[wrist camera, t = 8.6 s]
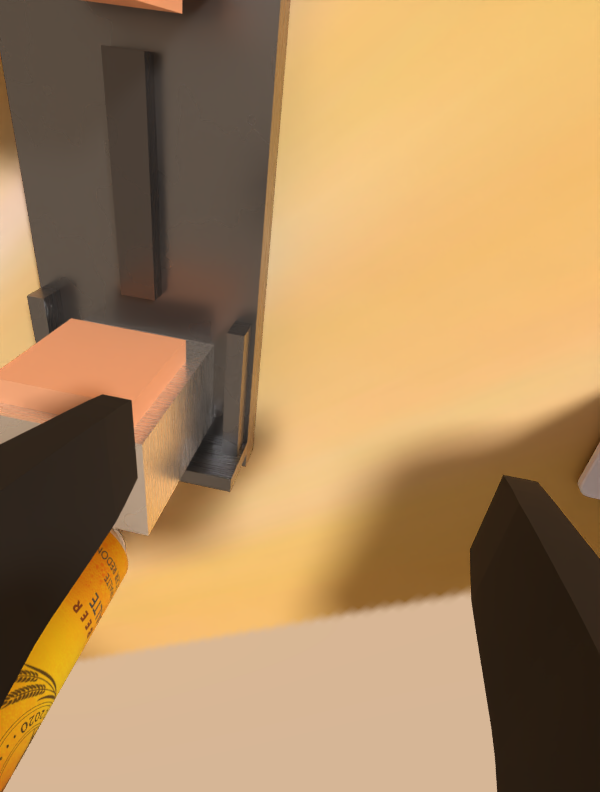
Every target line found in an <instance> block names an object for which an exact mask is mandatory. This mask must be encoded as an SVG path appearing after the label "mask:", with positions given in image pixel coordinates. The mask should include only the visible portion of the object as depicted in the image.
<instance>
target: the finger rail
mask: <svg viewBox="0 0 600 792" xmlns="http://www.w3.org/2000/svg"><path fill="white" fill-rule="evenodd" d="M289 10H290V0H0V53H1V59H2V65H3V71H4V76H5V82H6V88H7V94H8V100H9V105H10V111H11V117H12V123H13V129H14V134H15V140H16V146H17V152H18V158H19V164H20V169H21V175H22V181H23V187H24V193H25V198H26V204H27V210H28V216H29V222H30V227H31V233H32V239H33V245H34V251H35V256H36V262H37V268H38V274H39V280H40V286H41V288H40V289H38V290H36V291H35V292H33V293H31V294H29V295H28V296H27V298H28V304H29V309H30V314H31V320H32V325H33V330H34V335H35V341H36V343H37V342H39V341H40V340H42V339H43V338H44V337H46V336H47V335H49V334H50V333H51V332H53V331H54V330H56V329H57V328H58V327H60V326H61V325H63V324H64V323H65V322H67V321H68V320H70V319H71V318H72V319H77V320H88V321H93V322H98V323H104V324H109V325H114V326H119V327H125V328H130V329H135V330H141V331H146V332H151V333H156V334H162V335H167V336H172V337H178V338H183V339H188V340H194V341H199V342H204V343H209V344H214V376H213V414H212V424H211V426H210V427H209V429H208V431H207V433H206V434H205V436H204V438H203V440H202V442H201V443H200V445H199V447H198V449H197V450H196V452H195V454H194V456H193V458H192V459H191V461H190V463H189V465H188V466H187V468H186V470H185V472H184V474H183V475H182V477H181V479H180V481H182V482H186V483H191V484H196V485H200V486H205V487H210V488H214V489H219V490H224V491H228V492H230V491H231V489H232V487H233V484H234V482H235V480H236V477H237V475H238V473H239V470H240V468H241V466H245V467H246V464H247V462H248V459H249V457H250V455H251V452H252V450H253V440H254V428H255V417H256V405H257V393H258V381H259V369H260V357H261V345H262V333H263V321H264V309H265V297H266V285H267V273H268V261H269V249H270V237H271V225H272V213H273V201H274V189H275V177H276V165H277V153H278V141H279V129H280V117H281V105H282V93H283V81H284V70H285V58H286V46H287V34H288V22H289Z"/></svg>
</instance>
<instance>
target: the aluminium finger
mask: <svg viewBox="0 0 600 792" xmlns="http://www.w3.org/2000/svg"><path fill="white" fill-rule="evenodd" d="M213 376H214V344H209V343H204V342H199V341H194V340H188V339H183V338H178V337H172V336H167V335H162V334H156V333H151V332H146V331H141V330H135V329H130V328H125V327H119V326H114V325H109V324H104V323H98V322H93V321H88V320H77V319H72V318H71V319H70V320H68V321H67V322H65V323H64V324H63V325H61V326H60V327H58V328H57V329H56V330H54V331H53V332H51V333H50V334H49V335H47V336H46V337H44V338H43V339H42V340H40V341H39V342H37V343H36V344H35V345H33V346H32V347H30V348H29V349H28V350H26V351H25V352H23V353H22V354H21V355H19V356H18V357H16V358H15V359H14V360H12V361H11V362H9V363H8V364H7V365H5V366H4V367H3V368H1V369H0V444H2V443H4V442H6V441H8V440H10V439H12V438H14V437H16V436H18V435H20V434H22V433H24V432H26V431H28V430H30V429H32V428H34V427H36V426H38V425H40V424H42V423H44V422H46V421H48V420H50V419H52V418H54V417H56V416H58V415H60V414H62V413H64V412H66V411H68V410H70V409H72V408H74V407H76V406H78V405H80V404H82V403H84V402H86V401H88V400H90V399H93V398H95V397H97V396H100V395H102V394H104V395H109V396H114V397H119V398H124V399H129V400H132V411H133V423H134V436H135V449H136V461H137V474H138V479H137V481H136V483H135V485H134V487H133V489H132V491H131V493H130V496H129V498H128V500H127V502H126V504H125V506H124V508H123V510H122V512H121V513H120V515H119V517H118V519H117V521H116V523H115V524H114V526H113V527H112V528H116V529H120V530H125V531H129V532H134V533H138V534H143V535H147V536H149V534H150V532H151V530H152V529H153V527H154V525H155V523H156V522H157V520H158V518H159V516H160V514H161V513H162V511H163V509H164V507H165V506H166V504H167V502H168V500H169V498H170V497H171V495H172V493H173V491H174V490H175V488H176V486H177V484H178V482H179V481H180V479H181V477H182V475H183V474H184V472H185V470H186V468H187V466H188V465H189V463H190V461H191V459H192V458H193V456H194V454H195V452H196V450H197V449H198V447H199V445H200V443H201V442H202V440H203V438H204V436H205V434H206V433H207V431H208V429H209V427H210V426H211V424H212V414H213Z"/></svg>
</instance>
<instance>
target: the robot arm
mask: <svg viewBox="0 0 600 792" xmlns="http://www.w3.org/2000/svg"><path fill="white" fill-rule="evenodd" d="M137 479H138V474H137V461H136V449H135V436H134V423H133V411H132V400H129V399H124V398H119V397H114V396H109V395H104V394H102V395H100V396H97V397H95V398H93V399H90V400H88V401H86V402H84V403H82V404H80V405H78V406H76V407H74V408H72V409H70V410H68V411H66V412H64V413H62V414H60V415H58V416H56V417H54V418H52V419H50V420H48V421H46V422H44V423H42V424H40V425H38V426H36V427H34V428H32V429H30V430H28V431H26V432H24V433H22V434H20V435H18V436H16V437H14V438H12V439H10V440H8V441H6V442H4V443H2V444H0V709H1V707H2V705H3V703H4V701H5V699H6V697H7V695H8V693H9V691H10V690H11V688H12V686H13V684H14V682H15V680H16V679H17V677H18V675H19V673H20V671H21V669H22V668H23V666H24V664H25V662H26V660H27V658H28V657H29V655H30V653H31V651H32V649H33V647H34V646H35V644H36V642H37V641H38V639H39V637H40V636H41V634H42V633H43V631H44V629H45V628H46V626H47V625H48V623H49V621H50V620H51V618H52V617H53V615H54V614H55V612H56V611H57V609H58V608H59V606H60V605H61V603H62V602H63V600H64V599H65V598H66V596H67V595H68V593H69V592H70V590H71V589H72V587H73V586H74V584H75V583H76V581H77V580H78V578H79V577H80V575H81V574H82V572H83V571H84V569H85V568H86V567H87V565H88V564H89V562H90V561H91V559H92V558H93V556H94V555H95V553H96V552H97V550H98V549H99V547H100V546H101V544H102V543H103V541H104V540H105V538H106V537H107V535H108V534H109V532H110V531H111V529H112V527H113V526H114V524H115V523H116V521H117V519H118V517H119V515H120V513H121V512H122V510H123V508H124V506H125V504H126V502H127V500H128V498H129V496H130V493H131V491H132V489H133V487H134V485H135V483H136V481H137ZM578 487H579V489H580V491H581V493H582V494H583V495H585V496H587V497H591V498H596V499H600V442H599V444H598V446H597V448H596V450H595V451H594V453H593V455H592V457H591V459H590V460H589V462H588V464H587V466H586V467H585V469H584V471H583V473H582V475H581V476H580V478H579V480H578ZM470 574H471V600H472V607H473V615H474V621H475V628H476V634H477V641H478V646H479V653H480V660H481V666H482V672H483V678H484V684H485V691H486V696H487V703H488V709H489V715H490V722H491V728H492V737H493V744H494V753H495V764H496V780H497V792H600V559H599V557H598V556H597V555H596V554H595V552H594V551H593V550H592V549H591V548H590V546H589V545H588V544H587V543H586V541H585V540H584V539H583V538H582V536H581V535H580V534H579V533H578V531H577V530H576V529H575V528H574V526H573V525H572V524H571V523H570V521H569V520H568V519H567V518H566V516H565V515H564V514H563V513H562V511H561V510H560V509H559V507H558V506H557V505H556V504H555V502H554V501H553V500H552V499H551V498H550V496H549V495H548V494H547V493H546V491H545V490H544V489H543V488H542V487H541V486H540V484H539V483H538V482H535V481H530V480H526V479H521V478H516V477H511V476H506V475H503V477H502V479H501V482H500V484H499V486H498V488H497V491H496V493H495V495H494V497H493V500H492V502H491V504H490V506H489V508H488V511H487V513H486V515H485V517H484V520H483V522H482V524H481V526H480V529H479V531H478V533H477V535H476V537H475V540H474V542H473V544H472V546H471V549H470Z"/></svg>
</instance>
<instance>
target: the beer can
mask: <svg viewBox="0 0 600 792" xmlns="http://www.w3.org/2000/svg"><path fill="white" fill-rule="evenodd" d="M127 569H128V559H127V555H126V547H125V542H124V540H123V537H122V535H121V534H120V532H119V531H118V529H116V528H112V529H111V531H110V532H109V534H108V535H107V537H106V538H105V540H104V541H103V543H102V544H101V546H100V547H99V549H98V550H97V552H96V553H95V555H94V556H93V558H92V559H91V561H90V562H89V564H88V565H87V567H86V568H85V569H84V571H83V572H82V574H81V575H80V577H79V578H78V580H77V581H76V583H75V584H74V586H73V587H72V589H71V590H70V592H69V593H68V595H67V596H66V598H65V599H64V600H63V602H62V603H61V605H60V606H59V608H58V609H57V611H56V612H55V614H54V615H53V617H52V618H51V620H50V621H49V623H48V625H47V626H46V628H45V629H44V631H43V633H42V634H41V636H40V637H39V639H38V641H37V642H36V644H35V646H34V647H33V649H32V651H31V653H30V655H29V657H28V658H27V660H26V662H25V664H24V666H23V668H22V669H21V671H20V673H19V675H18V677H17V679H16V680H15V682H14V684H13V686H12V688H11V690H10V691H9V693H8V695H7V697H6V699H5V701H4V703H3V705H2V707H1V709H0V792H3V790H4V789H5V787H6V785H7V783H8V781H9V779H10V778H11V776H12V774H13V772H14V771H15V769H16V767H17V766H18V763H19V762H20V760H21V758H22V757H23V755H24V753H25V751H26V749H27V748H28V746H29V744H30V743H31V741H32V739H33V737H34V735H35V734H36V732H37V730H38V728H39V726H40V725H41V723H42V721H43V719H44V718H45V716H46V714H47V712H48V711H49V709H50V707H51V705H52V704H53V702H54V700H55V698H56V696H57V694H58V693H59V691H60V689H61V688H62V686H63V684H64V682H65V681H66V679H67V677H68V675H69V674H70V672H71V670H72V668H73V666H74V665H75V663H76V661H77V659H78V658H79V656H80V654H81V652H82V650H83V649H84V647H85V645H86V643H87V642H88V640H89V638H90V636H91V635H92V633H93V631H94V629H95V627H96V626H97V624H98V622H99V620H100V619H101V617H102V615H103V613H104V612H105V610H106V608H107V606H108V604H109V603H110V601H111V599H112V597H113V596H114V594H115V592H116V590H117V589H118V587H119V585H120V583H121V581H122V580H123V578H124V576H125V574H126V572H127Z"/></svg>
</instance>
